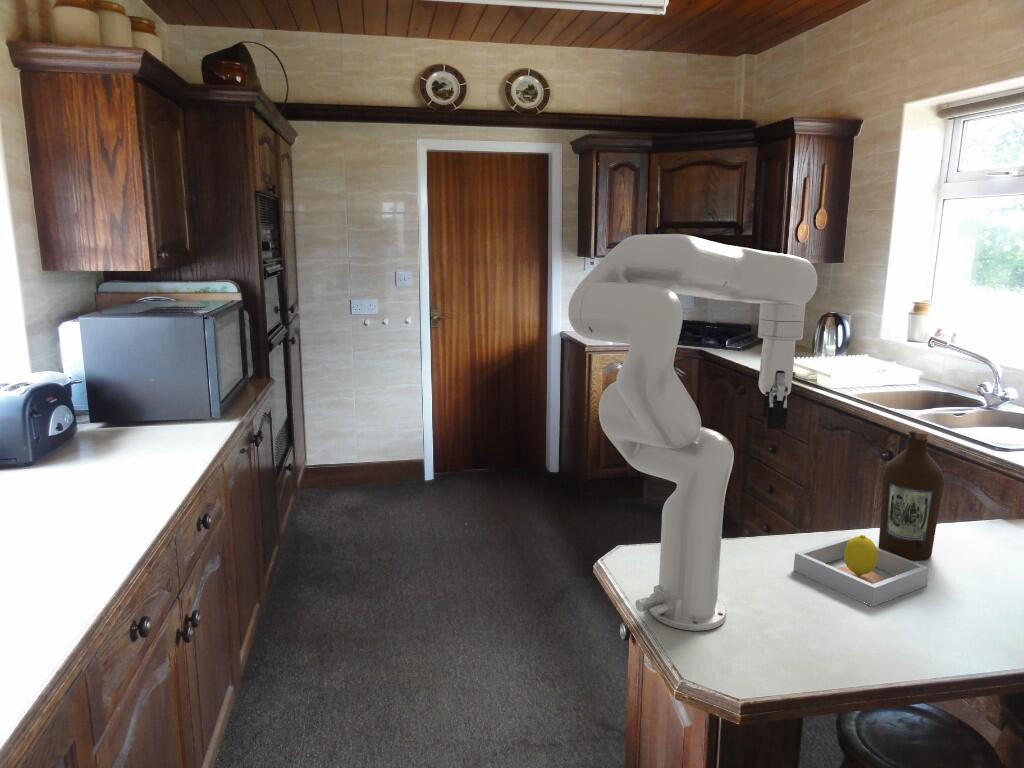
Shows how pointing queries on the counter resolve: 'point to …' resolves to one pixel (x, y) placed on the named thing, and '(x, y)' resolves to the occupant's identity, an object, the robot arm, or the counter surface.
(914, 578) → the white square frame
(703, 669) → the counter surface
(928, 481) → the brown glass bottle
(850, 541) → the lemon
